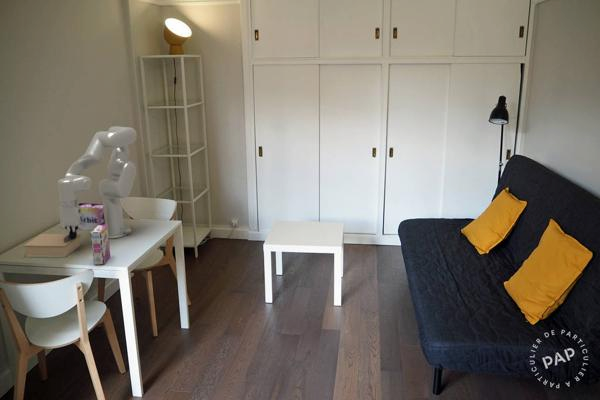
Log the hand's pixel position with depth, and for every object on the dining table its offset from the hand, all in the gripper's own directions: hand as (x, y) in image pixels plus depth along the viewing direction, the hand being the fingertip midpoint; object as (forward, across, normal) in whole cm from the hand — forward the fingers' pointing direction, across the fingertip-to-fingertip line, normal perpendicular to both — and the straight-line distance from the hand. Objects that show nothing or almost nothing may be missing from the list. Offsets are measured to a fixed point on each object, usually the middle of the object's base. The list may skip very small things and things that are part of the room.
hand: (73, 238), depth 256 cm
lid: (+2, +11, 0) cm, 11 cm away
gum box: (+7, +11, -36) cm, 39 cm away
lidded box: (+7, +11, 0) cm, 13 cm away
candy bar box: (+7, -19, +12) cm, 24 cm away
